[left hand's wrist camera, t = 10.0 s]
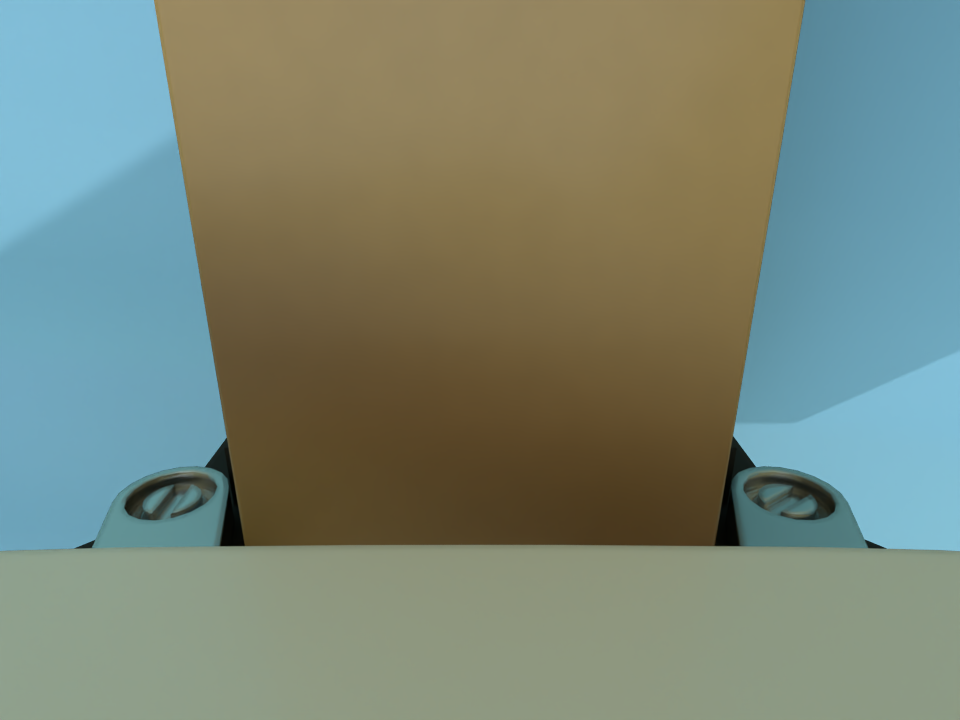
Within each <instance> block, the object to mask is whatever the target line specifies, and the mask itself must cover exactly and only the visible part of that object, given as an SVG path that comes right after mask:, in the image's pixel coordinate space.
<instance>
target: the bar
mask: <svg viewBox="0 0 960 720" xmlns="http://www.w3.org/2000/svg"><path fill="white" fill-rule="evenodd" d="M154 3H155V9H156V15H157V21H158V27H159V33H160V39H161V45H162V51H163V57H164V63H165V69H166V75H167V81H168V87H169V93H170V99H171V105H172V111H173V117H174V123H175V129H176V135H177V141H178V147H179V153H180V159H181V165H182V171H183V177H184V183H185V189H186V195H187V201H188V207H189V213H190V219H191V225H192V231H193V237H194V243H195V249H196V255H197V261H198V267H199V273H200V279H201V285H202V291H203V297H204V303H205V309H206V315H207V321H208V327H209V333H210V339H211V345H212V351H213V357H214V363H215V369H216V375H217V381H218V387H219V393H220V399H221V405H222V411H223V417H224V423H225V429H226V435H227V441H228V447H229V453H230V459H231V465H232V471H233V477H234V483H235V489H236V495H237V501H238V507H239V513H240V519H241V525H242V531H243V537H244V543H245V546H310V545H629V546H715V540H716V534H717V528H718V522H719V516H720V510H721V504H722V498H723V492H724V486H725V480H726V474H727V468H728V462H729V456H730V450H731V444H732V438H733V432H734V426H735V420H736V414H737V408H738V402H739V396H740V390H741V384H742V378H743V372H744V366H745V360H746V354H747V348H748V342H749V336H750V330H751V324H752V318H753V312H754V306H755V300H756V294H757V288H758V282H759V276H760V270H761V264H762V258H763V252H764V245H765V239H766V233H767V227H768V221H769V215H770V209H771V203H772V197H773V191H774V185H775V179H776V173H777V167H778V161H779V155H780V149H781V143H782V137H783V131H784V125H785V119H786V113H787V107H788V101H789V95H790V89H791V83H792V77H793V71H794V65H795V59H796V53H797V47H798V41H799V35H800V29H801V23H802V17H803V11H804V5H805V0H154Z"/></svg>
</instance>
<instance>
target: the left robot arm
mask: <svg viewBox="0 0 960 720" xmlns="http://www.w3.org/2000/svg"><path fill="white" fill-rule="evenodd" d="M0 720H960V551H945V550H911V549H886V548H884V547H882V546H879V545H877V544H874V543H872V542H869V541H867V540H864V538H863V535H862V533H861V531H860V529H859V526H858V524H857V522H856V520H855V517H854V515H853V513H852V511H851V508H850V506H849V504H848V502H847V501H846V499H845V498H844V497H843V495H842V494H841V493H840V492H839V491H838V490H836V489H835V488H834V487H832V486H831V485H830V484H828V483H826V482H824V481H822V480H820V479H818V478H816V477H814V476H812V475H809V474H806V473H803V472H800V471H797V470H792V469H787V468H781V467H767V466H762V467H756V466H755V465H754V464H753V462H752V461H751V460H750V458H749V457H748V456H747V454H746V453H745V452H744V450H743V449H742V448H741V446H740V445H739V443H738V442H737V441H736V439H735V438H734V437H733V438H732V444H731V450H730V456H729V462H728V468H727V474H726V480H725V486H724V492H723V498H722V504H721V510H720V516H719V522H718V528H717V534H716V540H715V546H629V545H310V546H245V543H244V537H243V531H242V525H241V519H240V513H239V507H238V501H237V495H236V489H235V483H234V477H233V471H232V465H231V459H230V453H229V447H228V441H227V438H226V440H225V441H224V442H223V444H222V445H221V446H220V448H219V449H218V450H217V452H216V453H215V454H214V456H213V457H212V458H211V460H210V461H209V462H208V464H207V465H206V466H205V467H198V466H193V467H179V468H173V469H168V470H163V471H160V472H157V473H154V474H151V475H148V476H146V477H144V478H142V479H140V480H138V481H136V482H134V483H132V484H130V485H129V486H128V487H126V488H125V489H124V490H122V491H121V492H120V493H119V494H118V495H117V497H116V498H115V499H114V501H113V502H112V504H111V506H110V508H109V511H108V513H107V515H106V517H105V520H104V522H103V524H102V526H101V529H100V531H99V533H98V535H97V538H96V540H94V541H92V542H89V543H87V544H84V545H82V546H79V547H77V548H74V549H51V550H17V551H0Z"/></svg>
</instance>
